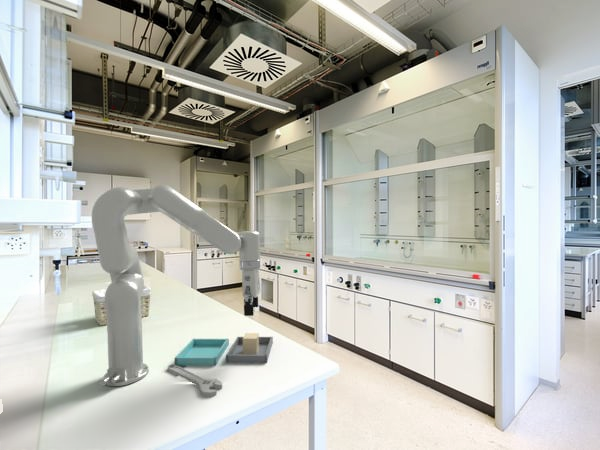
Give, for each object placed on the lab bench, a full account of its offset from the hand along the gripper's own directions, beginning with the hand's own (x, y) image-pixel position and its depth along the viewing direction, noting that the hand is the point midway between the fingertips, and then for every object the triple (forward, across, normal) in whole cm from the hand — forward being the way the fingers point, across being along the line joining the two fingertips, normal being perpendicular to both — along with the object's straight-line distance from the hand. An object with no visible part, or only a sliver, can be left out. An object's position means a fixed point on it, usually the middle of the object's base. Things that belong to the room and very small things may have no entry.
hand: (251, 311), depth 110 cm
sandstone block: (+15, 0, +1) cm, 15 cm away
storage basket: (+15, +39, +74) cm, 85 cm away
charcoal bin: (+16, 0, +1) cm, 16 cm away
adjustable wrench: (+16, -18, +15) cm, 28 cm away
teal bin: (+16, -2, +18) cm, 24 cm away
